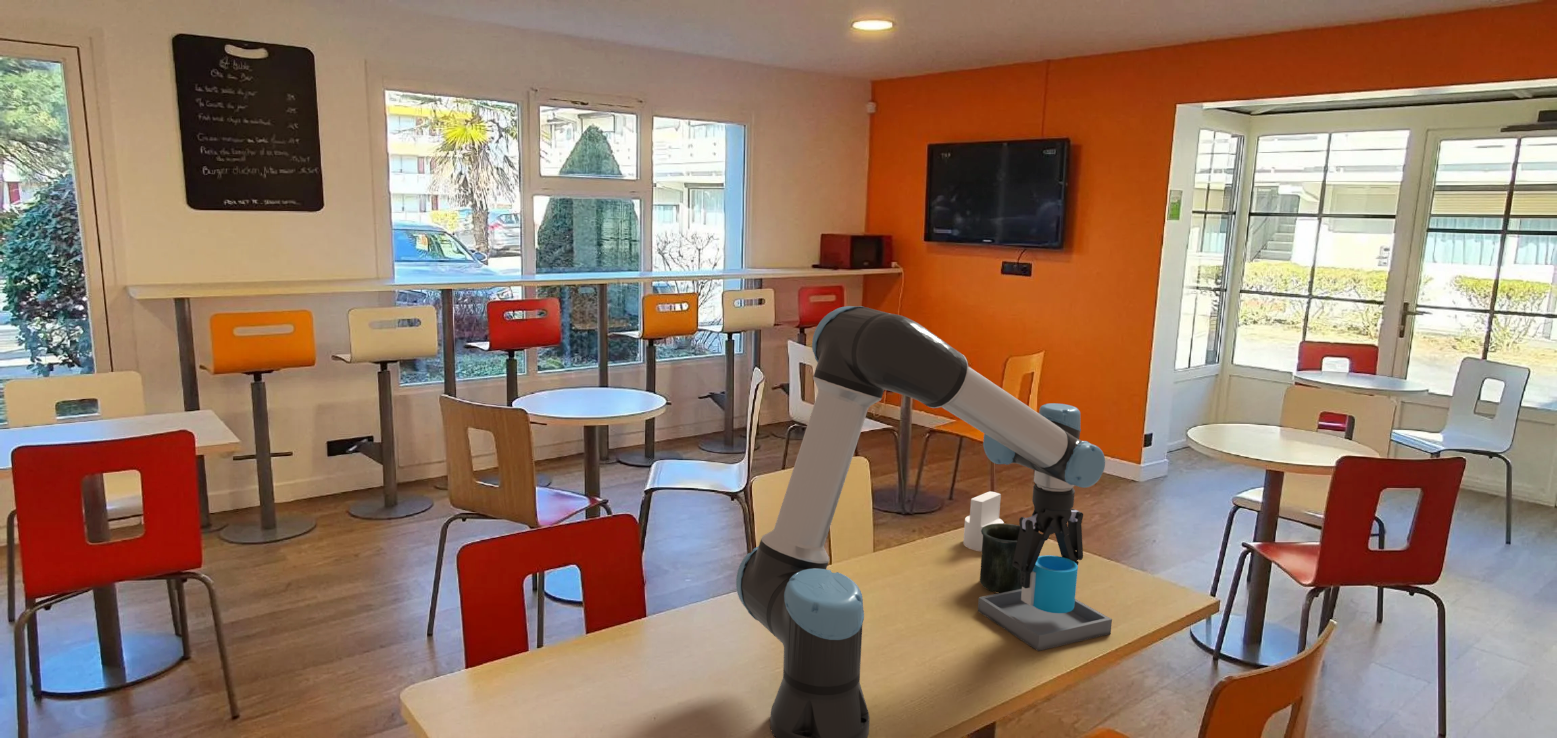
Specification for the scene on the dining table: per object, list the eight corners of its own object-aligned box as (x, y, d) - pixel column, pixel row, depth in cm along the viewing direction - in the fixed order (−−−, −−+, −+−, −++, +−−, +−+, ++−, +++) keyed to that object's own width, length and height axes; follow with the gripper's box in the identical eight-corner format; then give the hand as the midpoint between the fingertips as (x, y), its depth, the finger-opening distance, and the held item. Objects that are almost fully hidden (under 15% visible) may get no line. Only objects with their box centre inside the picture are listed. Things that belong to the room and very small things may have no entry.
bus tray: (1038, 651, 167) (1039, 635, 166) (977, 611, 183) (978, 597, 182) (1110, 633, 174) (1112, 619, 174) (1046, 597, 190) (1048, 583, 189)
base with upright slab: (989, 554, 212) (993, 505, 210) (956, 544, 218) (959, 496, 216) (1009, 545, 219) (1012, 496, 217) (976, 535, 225) (979, 488, 223)
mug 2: (1083, 610, 174) (1087, 569, 172) (1046, 615, 171) (1050, 574, 169) (1044, 584, 185) (1048, 546, 183) (1010, 589, 182) (1013, 550, 180)
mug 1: (966, 580, 198) (970, 527, 195) (1019, 569, 204) (1023, 518, 202) (1000, 600, 188) (1004, 544, 186) (1054, 588, 195) (1058, 534, 192)
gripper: (1023, 498, 166) (1014, 616, 170) (1110, 485, 175) (1100, 597, 179) (997, 486, 172) (989, 599, 177) (1082, 474, 181) (1072, 582, 185)
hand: (1044, 598), depth 178 cm, fingers closed on mug 2, 8 cm apart
